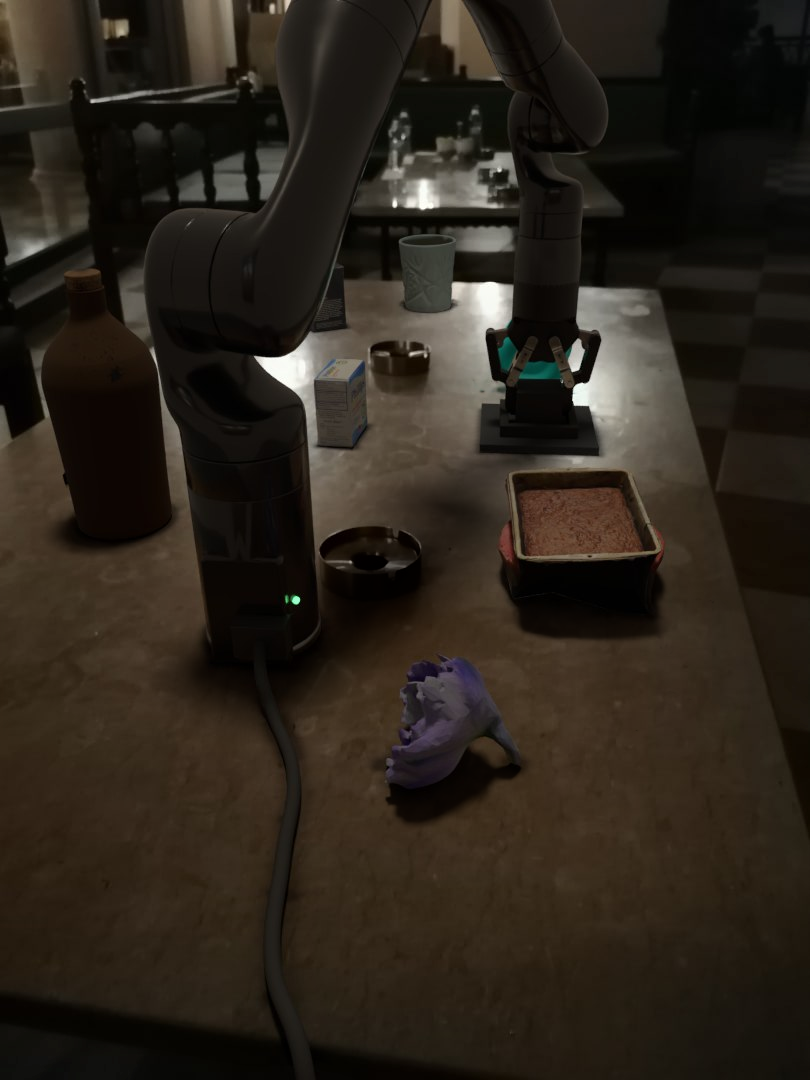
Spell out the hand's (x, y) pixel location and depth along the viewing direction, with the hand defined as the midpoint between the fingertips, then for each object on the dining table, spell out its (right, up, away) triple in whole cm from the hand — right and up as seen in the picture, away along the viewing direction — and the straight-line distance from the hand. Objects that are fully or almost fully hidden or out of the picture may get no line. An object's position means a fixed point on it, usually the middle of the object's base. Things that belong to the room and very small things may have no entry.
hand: (537, 413), depth 112 cm
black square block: (0, 0, 0) cm, 0 cm away
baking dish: (-1, -19, -30) cm, 35 cm away
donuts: (+2, +6, +17) cm, 18 cm away
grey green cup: (-12, +27, +55) cm, 63 cm away
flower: (-13, -31, -50) cm, 61 cm away
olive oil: (-45, -14, -19) cm, 51 cm away
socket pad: (0, -2, +1) cm, 2 cm away
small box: (-31, +22, +46) cm, 60 cm away
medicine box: (-24, -3, +1) cm, 24 cm away
